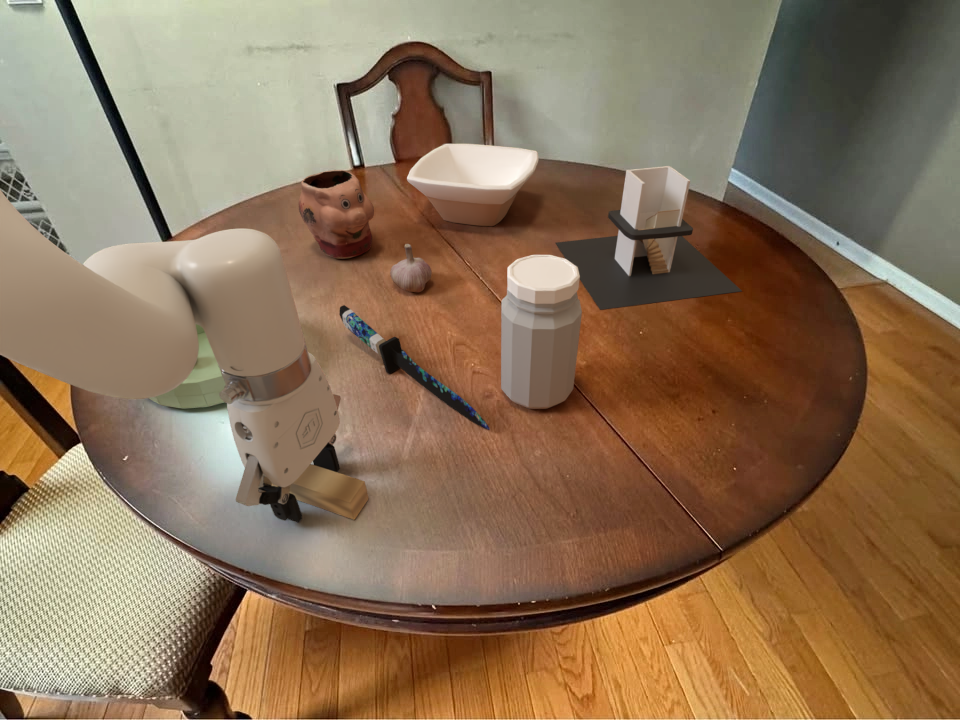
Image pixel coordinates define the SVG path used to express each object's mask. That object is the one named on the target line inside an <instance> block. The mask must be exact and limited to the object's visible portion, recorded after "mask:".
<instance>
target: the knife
mask: <svg viewBox="0 0 960 720" xmlns="http://www.w3.org/2000/svg"><path fill="white" fill-rule="evenodd" d="M339 318H340V319H341V322H342V324H343V325H344V327H345V328H346V329H347V330H348V331H350V332H351V333H352V334H353V335H354V336H356V337H357V338H358V339H359V340H360V341H362V342H363V343H364V344H365V345H366V346H368V347H369V348H370V349H371V350H372V351H373V352H375V353H376V354H377V355H378V356H379V357H381V360H382V363H383V366H384V369H385V372H386V373H387V374H390V375H391V374H393V373H395V372H396V371H398V370H400V369H401V370H402V371H403V372H404V373H406V374H407V375H408V376H409V377H411V378H412V379H413V380H414V381H416V382H417V383H418V384H419V385H421V386H422V387H423V388H425V390H427V391H428V392H430V393H431V394H432V395H434V396H435V397H436V398H437V399H440V400H441V401H442V402H443V403H445V404H446V405H447V406H448V407H450V408H452V409H453V410H454V411H456V412H457V413H458V414H460V415H461V416H463V417H464V418H466V419H467V420H469V421H471V423H474V424H475V425H477V426H478V427H480V428H483V429H484V430H487V431H490V430H491V428H490V426H489V425H488V423H487V422H486V421H485V420H484V418H483V417H482V416H481V415H480V414H479V412H477V410H476V409H474V408H473V406H471V404H469V403H468V402H467V401H466V400H465V399H464V398H462V396H460V395H458V394H457V393H456V392H455V391H453V390H452V389H450V388H449V387H447V385H445V384H444V383H442V382H441V381H439V380H438V379H436V378H435V376H432V375H431V374H430V373H428V372H427V371H426V370H424V369H423V368H422V367H421V366H420V365H418V364H417V363H416V362H415V361H414V359H412V358H411V357H410V356H409V354H408V353H406V350H404V349H403V348H402V344H401V341H400V338H399V337H397V336H393V337H391V338H389V339H387V340H386V339H385V338H384V337H383V336H382V335H380V334H379V333H378V332H377V331H376V330H375V329H373V328H372V327H371V326H370V325H369V324H368V323H366V322H365V320H363V318H361V317H360V316H359V315H358V314H357V313H355V312H354V311H353V310H352V309H351V308H349V307H348V306H346V305H345V304H343V305H341V306H340V307H339Z"/></svg>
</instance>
